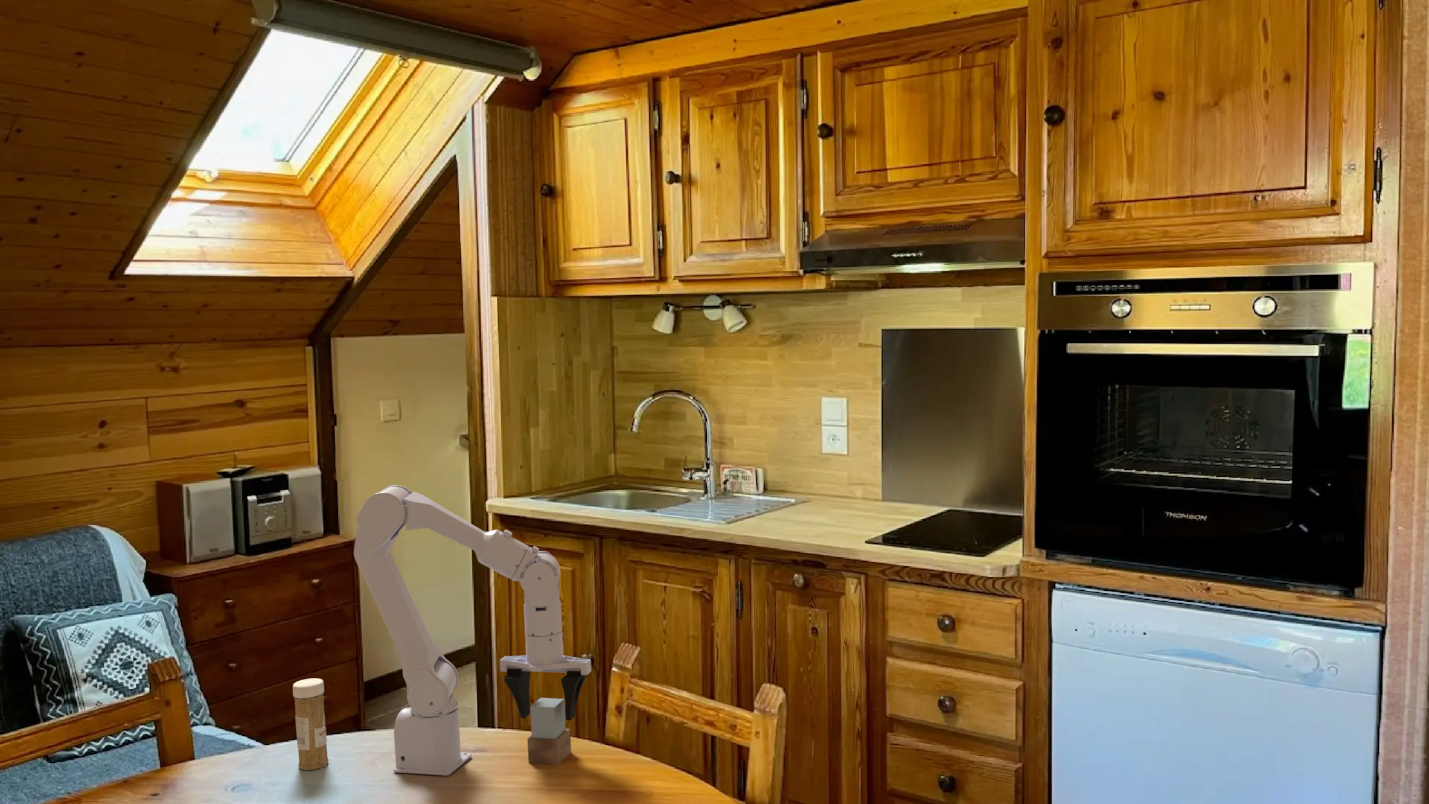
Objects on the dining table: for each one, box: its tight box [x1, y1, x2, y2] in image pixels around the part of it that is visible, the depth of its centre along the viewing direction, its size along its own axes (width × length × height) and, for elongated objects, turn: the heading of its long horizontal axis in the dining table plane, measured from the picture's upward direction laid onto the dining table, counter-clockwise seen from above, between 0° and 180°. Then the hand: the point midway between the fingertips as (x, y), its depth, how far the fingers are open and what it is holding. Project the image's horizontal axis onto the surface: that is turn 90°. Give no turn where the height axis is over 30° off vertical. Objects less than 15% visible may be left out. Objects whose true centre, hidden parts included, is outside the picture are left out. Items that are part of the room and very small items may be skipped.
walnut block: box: [526, 728, 572, 766], centre depth 170 cm, size 5×5×4 cm
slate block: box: [530, 697, 567, 739], centre depth 170 cm, size 4×4×5 cm
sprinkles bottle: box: [292, 677, 329, 771], centre depth 171 cm, size 5×5×14 cm
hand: (547, 717), depth 170 cm, fingers open, 7 cm apart
